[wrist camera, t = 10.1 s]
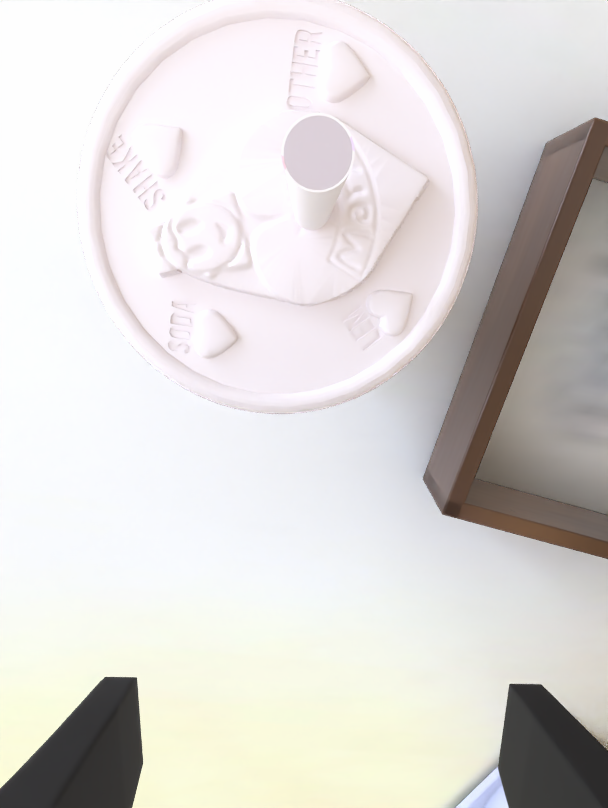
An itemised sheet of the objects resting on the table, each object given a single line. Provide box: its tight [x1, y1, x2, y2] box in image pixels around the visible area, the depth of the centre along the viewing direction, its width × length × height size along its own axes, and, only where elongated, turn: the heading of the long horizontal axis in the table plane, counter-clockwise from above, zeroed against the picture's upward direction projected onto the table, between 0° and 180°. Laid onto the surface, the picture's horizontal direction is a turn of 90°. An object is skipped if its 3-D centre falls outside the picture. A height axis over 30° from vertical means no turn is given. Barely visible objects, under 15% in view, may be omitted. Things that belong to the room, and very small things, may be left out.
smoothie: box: [77, 0, 478, 414], centre depth 11 cm, size 6×6×14 cm
